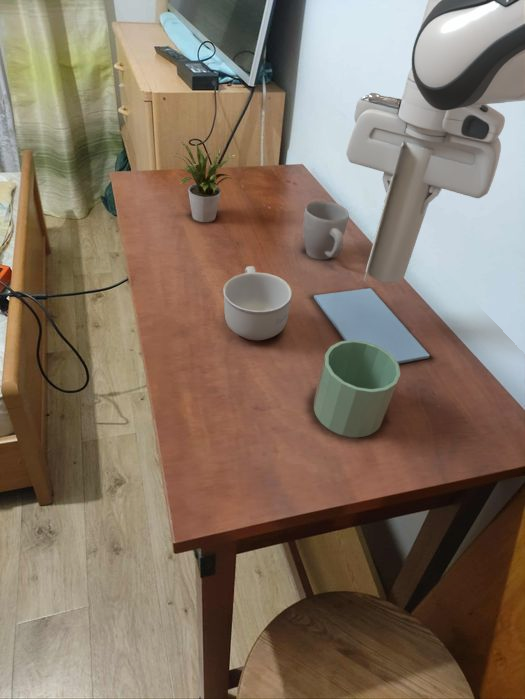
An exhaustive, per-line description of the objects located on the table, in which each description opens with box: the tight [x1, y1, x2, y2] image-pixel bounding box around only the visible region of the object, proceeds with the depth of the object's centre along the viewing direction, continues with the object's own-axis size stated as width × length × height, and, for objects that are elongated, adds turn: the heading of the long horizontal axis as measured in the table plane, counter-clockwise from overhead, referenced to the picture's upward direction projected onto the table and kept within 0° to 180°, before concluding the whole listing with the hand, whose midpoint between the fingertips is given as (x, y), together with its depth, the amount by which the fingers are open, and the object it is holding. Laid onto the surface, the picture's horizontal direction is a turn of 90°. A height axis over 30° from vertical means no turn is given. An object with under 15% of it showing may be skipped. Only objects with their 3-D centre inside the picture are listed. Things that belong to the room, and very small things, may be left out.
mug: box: [302, 200, 350, 261], centre depth 103 cm, size 12×9×10 cm
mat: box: [313, 287, 431, 365], centre depth 89 cm, size 20×12×1 cm, turn 20°
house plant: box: [171, 139, 239, 223], centre depth 109 cm, size 14×14×16 cm
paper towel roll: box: [363, 141, 435, 284], centre depth 76 cm, size 7×6×21 cm
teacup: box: [222, 265, 293, 341], centre depth 84 cm, size 14×11×8 cm
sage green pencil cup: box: [313, 340, 401, 438], centre depth 70 cm, size 10×10×9 cm
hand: (404, 207), depth 75 cm, fingers closed on paper towel roll, 3 cm apart
